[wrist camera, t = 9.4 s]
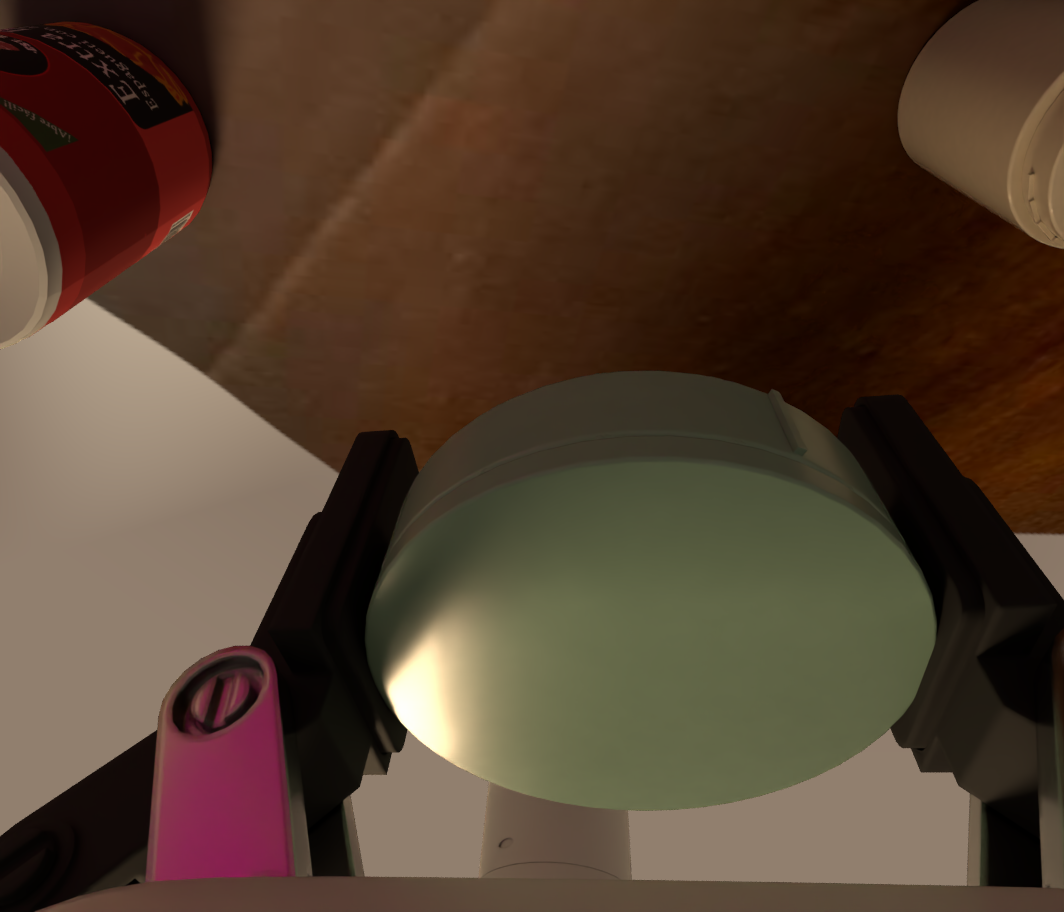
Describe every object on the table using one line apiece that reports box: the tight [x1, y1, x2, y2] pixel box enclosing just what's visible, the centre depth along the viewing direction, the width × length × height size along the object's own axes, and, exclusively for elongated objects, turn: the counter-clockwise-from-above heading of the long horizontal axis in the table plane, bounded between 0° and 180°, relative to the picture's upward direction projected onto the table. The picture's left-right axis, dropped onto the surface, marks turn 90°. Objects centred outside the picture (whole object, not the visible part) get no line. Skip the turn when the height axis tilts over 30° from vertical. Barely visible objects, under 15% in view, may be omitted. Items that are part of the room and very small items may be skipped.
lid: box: [364, 370, 937, 811], centre depth 8 cm, size 7×7×2 cm
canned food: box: [0, 21, 212, 349], centre depth 22 cm, size 8×8×11 cm
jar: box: [898, 0, 1064, 249], centre depth 20 cm, size 6×6×9 cm
